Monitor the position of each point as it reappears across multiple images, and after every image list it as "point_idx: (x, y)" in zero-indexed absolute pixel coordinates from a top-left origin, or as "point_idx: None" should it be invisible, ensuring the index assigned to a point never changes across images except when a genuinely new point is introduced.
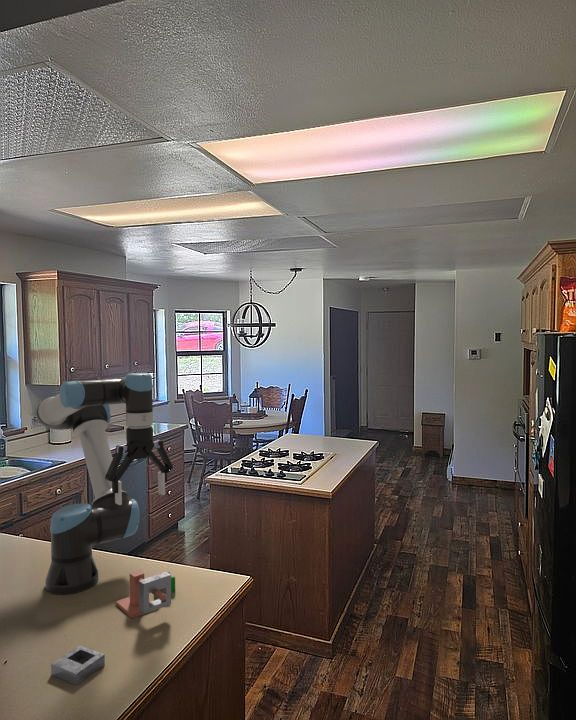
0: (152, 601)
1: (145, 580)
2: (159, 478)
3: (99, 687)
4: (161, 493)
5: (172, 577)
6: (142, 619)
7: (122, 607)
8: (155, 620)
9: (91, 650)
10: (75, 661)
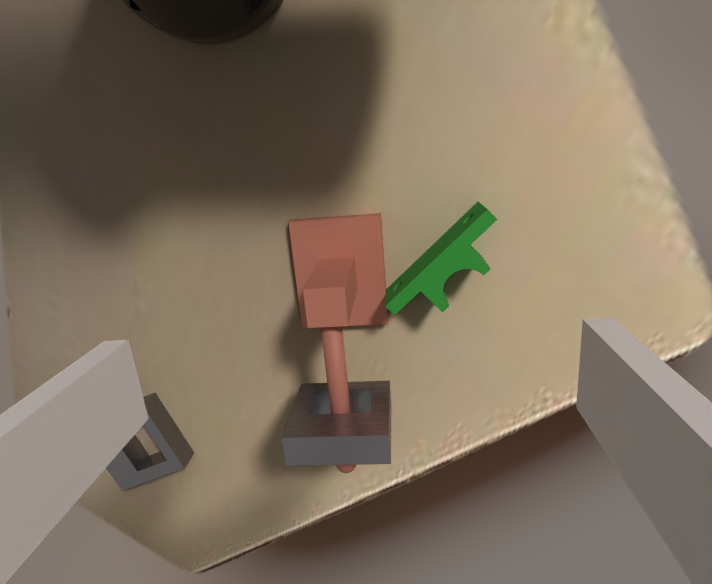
0: None
1: (299, 449)
2: (678, 464)
3: (171, 503)
4: (583, 389)
5: (480, 267)
6: None
7: (294, 267)
8: (351, 369)
9: (161, 440)
10: None
